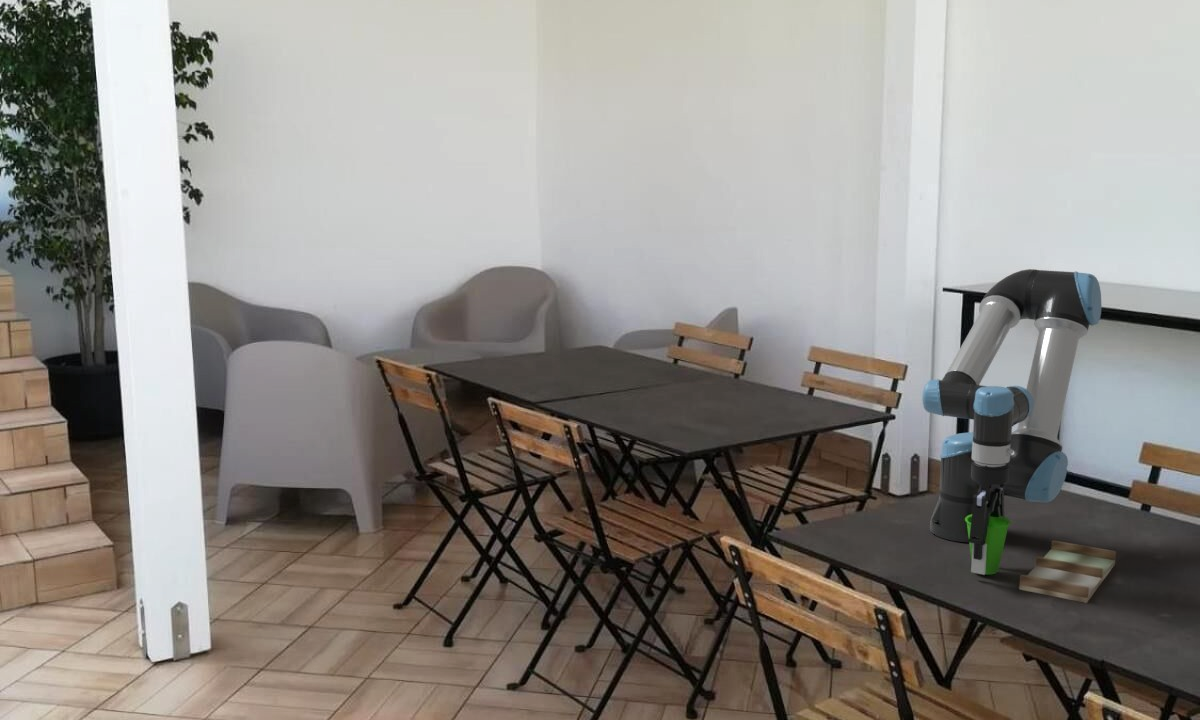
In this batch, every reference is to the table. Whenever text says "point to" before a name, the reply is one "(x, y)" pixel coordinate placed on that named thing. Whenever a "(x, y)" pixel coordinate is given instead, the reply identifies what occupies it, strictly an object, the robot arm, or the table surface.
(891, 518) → the table surface
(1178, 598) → the table surface
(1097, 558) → the wooden divided tray
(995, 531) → the cup
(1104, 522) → the table surface
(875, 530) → the table surface
